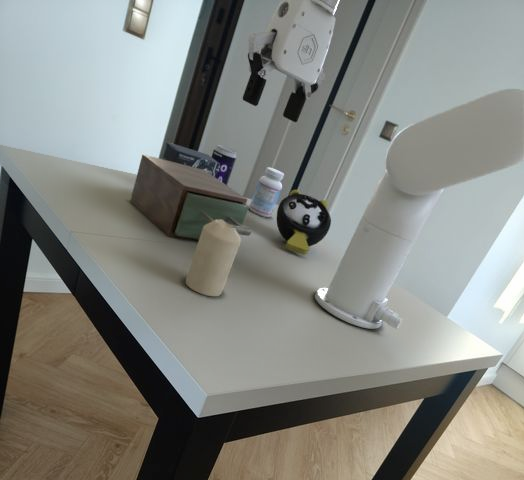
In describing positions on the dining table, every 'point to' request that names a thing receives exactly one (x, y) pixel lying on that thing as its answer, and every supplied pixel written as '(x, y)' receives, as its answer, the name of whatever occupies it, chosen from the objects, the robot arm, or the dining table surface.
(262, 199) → the pill bottle
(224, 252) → the candle
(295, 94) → the robot arm
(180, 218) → the drawer
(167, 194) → the cabinet
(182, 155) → the box
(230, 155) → the beverage can
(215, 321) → the dining table surface
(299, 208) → the alarm clock
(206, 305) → the dining table surface
